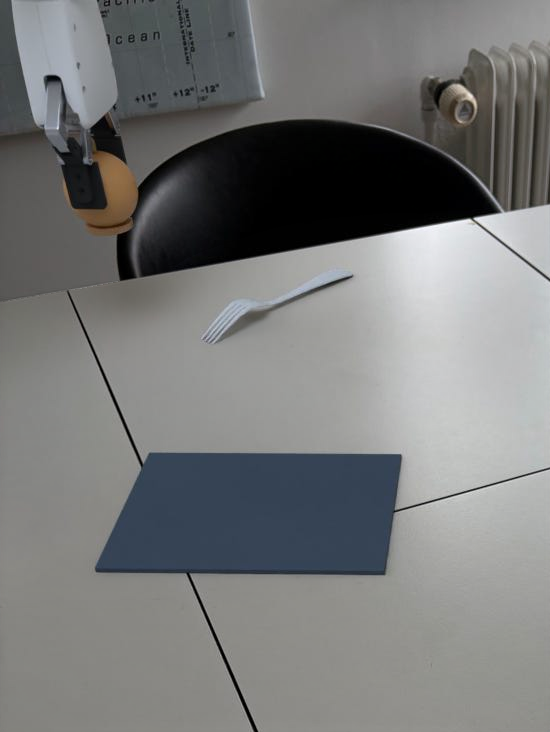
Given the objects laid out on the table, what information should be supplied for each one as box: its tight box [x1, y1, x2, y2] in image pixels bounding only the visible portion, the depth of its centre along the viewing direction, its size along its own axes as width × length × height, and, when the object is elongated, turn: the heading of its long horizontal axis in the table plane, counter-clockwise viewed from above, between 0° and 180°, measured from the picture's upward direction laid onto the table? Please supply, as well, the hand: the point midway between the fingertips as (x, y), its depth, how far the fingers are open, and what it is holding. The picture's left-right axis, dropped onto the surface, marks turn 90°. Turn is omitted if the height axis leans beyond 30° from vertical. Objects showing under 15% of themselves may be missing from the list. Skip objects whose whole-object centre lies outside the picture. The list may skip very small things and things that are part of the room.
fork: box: [200, 268, 353, 345], centre depth 112 cm, size 3×21×3 cm, turn 142°
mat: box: [94, 451, 403, 576], centre depth 84 cm, size 22×16×1 cm
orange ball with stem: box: [62, 138, 139, 237], centre depth 97 cm, size 7×7×8 cm
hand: (101, 192), depth 97 cm, fingers closed on orange ball with stem, 6 cm apart
